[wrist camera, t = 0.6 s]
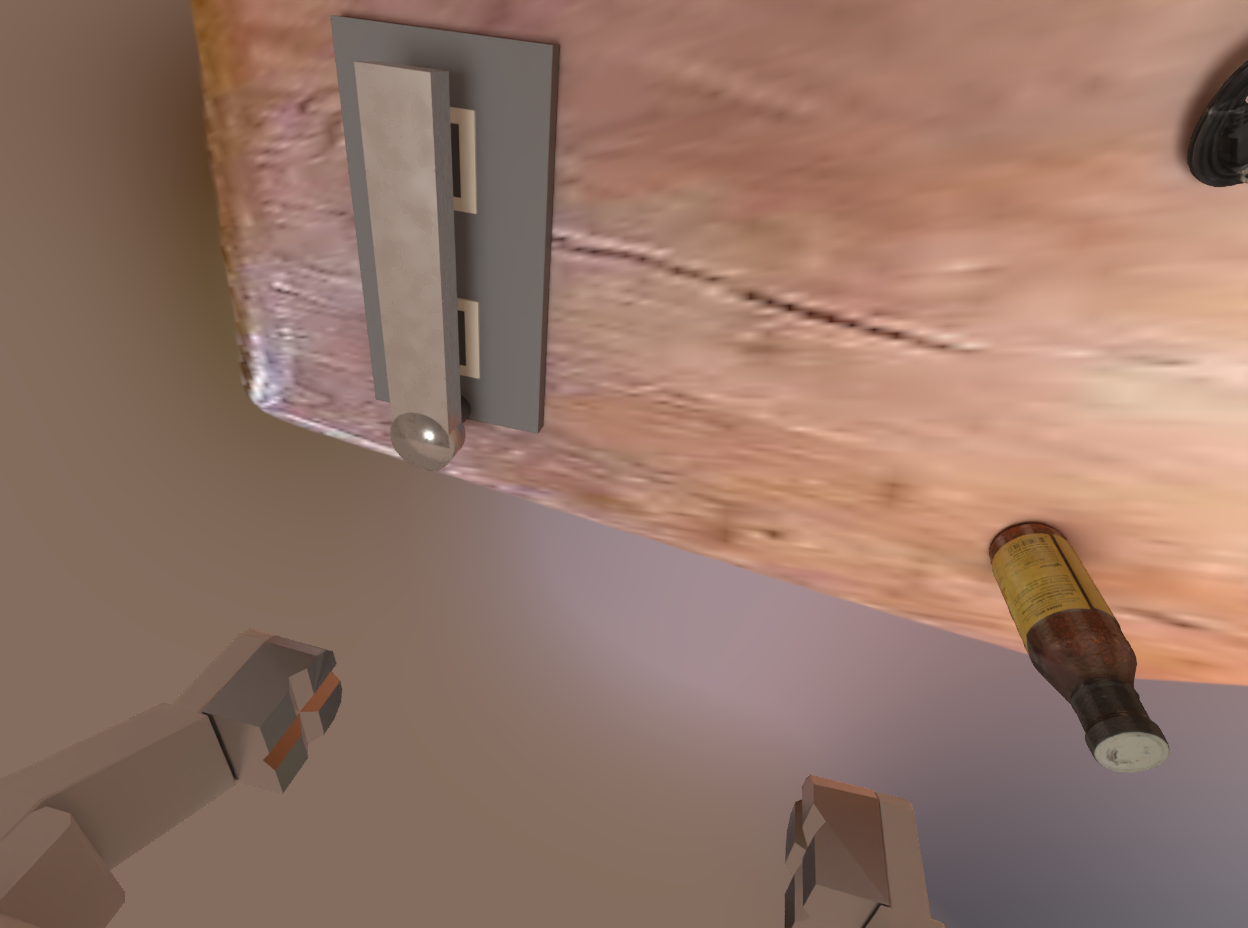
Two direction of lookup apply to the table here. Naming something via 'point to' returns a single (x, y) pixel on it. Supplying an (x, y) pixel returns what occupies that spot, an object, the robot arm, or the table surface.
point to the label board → (475, 203)
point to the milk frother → (1223, 135)
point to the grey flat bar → (414, 253)
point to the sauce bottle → (1076, 644)
